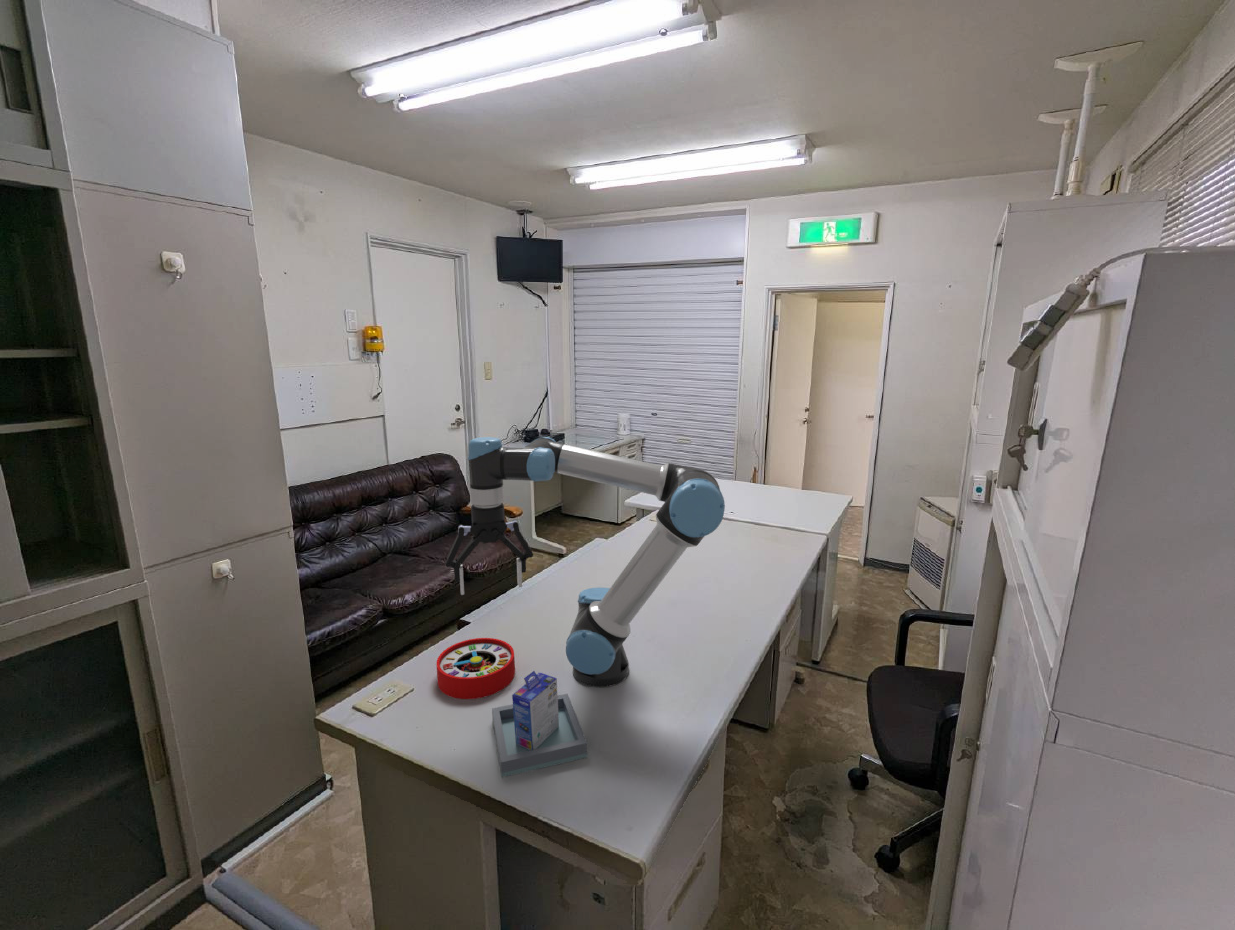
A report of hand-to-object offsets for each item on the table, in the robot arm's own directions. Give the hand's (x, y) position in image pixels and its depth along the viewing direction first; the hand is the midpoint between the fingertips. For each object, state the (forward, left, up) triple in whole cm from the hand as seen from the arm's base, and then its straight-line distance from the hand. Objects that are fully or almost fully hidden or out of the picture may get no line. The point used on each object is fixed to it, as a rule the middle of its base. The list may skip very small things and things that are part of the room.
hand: (491, 588), depth 132 cm
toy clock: (+4, -10, -29) cm, 31 cm away
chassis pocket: (-7, +19, -29) cm, 35 cm away
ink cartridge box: (-7, +19, -28) cm, 34 cm away
